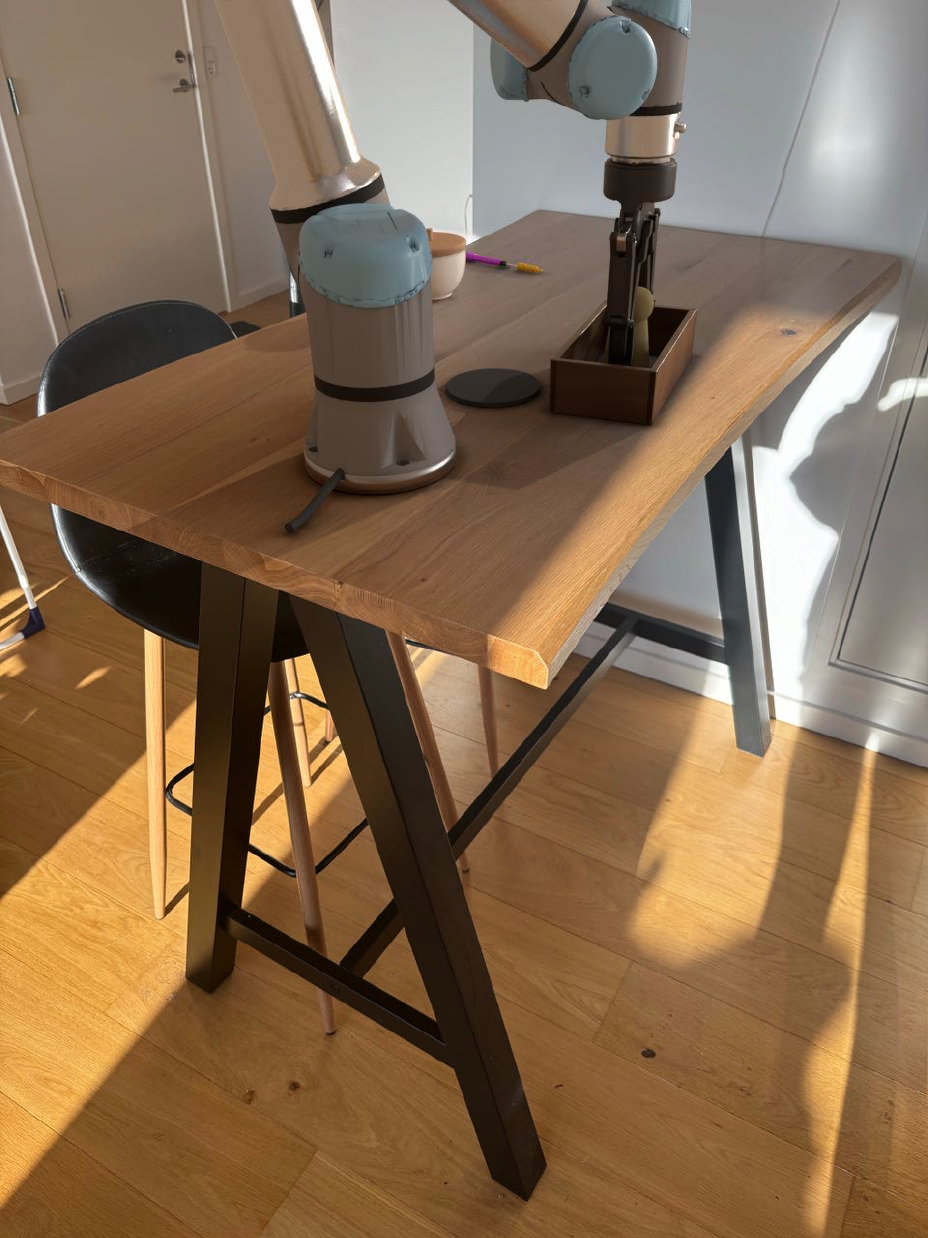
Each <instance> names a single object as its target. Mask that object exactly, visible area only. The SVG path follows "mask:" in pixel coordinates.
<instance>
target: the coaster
mask: <svg viewBox="0 0 928 1238" xmlns="http://www.w3.org/2000/svg"><path fill="white" fill-rule="evenodd" d="M540 391H541V383H540V381H539V380H538V378H537V377H536V376H534V375H532V374H530V373H527V372H524V371H521V370H516V369H511V368H502V367H501V368H499V367H490V368H478V369H472V370H467V371H464V372H460V373H458V374H456V375H454V376H453V377H451V378H450V379H448V380H447V382H446V385H445V392H446V394H447V396H448V397H449V398H450V399H451V400H453V401H455V402H457V403H460V404H462V405H466V406H471V407H477V408H506V407H508V408H509V407H513V406H514V407H515V406H519V405H521V404H525V403H527V402H530V401H532V400H533V399H535V398H536V397H537V396H538V395H539V394H540Z"/></svg>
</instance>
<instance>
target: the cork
mask: <svg viewBox="0 0 928 1238" xmlns="http://www.w3.org/2000/svg"><path fill="white" fill-rule="evenodd" d="M653 300H654V297H653V296H652V294H651V292H650V291H649V290H647V289H646V288H643V287H639V286H638V289H637V297H636V304H635V312H634V320H633V321H634V324H633V325H636V326H635V339H634V352H633V365H632V366H633V367H642V368H651V367H650V354H649V345H648V324H647V318H648V317H649V316H650V314H651V313H652V310H653V305H654V301H653ZM609 336H610V326H609V332H608V337H607V342H606V347H605V351H604V352H603V358H602V363H607V364H608V352H609Z"/></svg>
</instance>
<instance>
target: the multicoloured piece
mask: <svg viewBox="0 0 928 1238" xmlns="http://www.w3.org/2000/svg"><path fill="white" fill-rule="evenodd" d="M465 261H468V262H472V263H476V262H477V263H479V264H480V263H481V264H486V265H490V266H491V265H492V266H497V267H507V266H511V267H515V268H516V269H517V271H521V272H528V273H535V274H537V273H538V272H544V269H540V267H539V266H536V265H531V264H527V263H524V262H518V263H517V264H513V263H508V262H507V261H506V260H502V259H498V258H493V257H489V256H483V255H478V254H476V253H471V252H466V258H465Z"/></svg>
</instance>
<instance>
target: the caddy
mask: <svg viewBox="0 0 928 1238" xmlns="http://www.w3.org/2000/svg"><path fill="white" fill-rule="evenodd" d="M606 308H607V299H604V300H603V301H602V303H601V304H600V305H599V306H598V307H596V309H595V310H594V311H593V313H592V314H591V315H590V316H589V317H588V318H587V319H586V320H585V321H584V322H583V323H582V324H581V326H579V328H578V329H577V330H576V331H575V332H574V333H573V334H572V335H571V337H570V338H569V339H568V340H567V341H566V342H565V343H564V344H563V346H561V348H559V350H558V351H557V352H556V353H555V354H554V355H553V356H552V358H551V359H550V365H549V367H550V368H549V396H548V397H549V398H548V401H549V402H548V412H549V413H557V414H564V415H572V416H578V417H586V418H587V417H588V418H595V419H601V420H608V421H609V420H611V421H618V422H624V423H625V422H626V423H631V424H632V423H633V424H641V425H647V426H652V425H653V424H654V422H655V421H656V419H657V417H658V415H659V413H660V412H661V410H662V409H663V407H664V404H665V403H666V401H667V400H668V398H669V396H670V394H671V393H672V391H673V389H674V387H675V386H676V384H677V382H678V381H679V380H680V377H681V376H682V374H683V372H684V370H685V369H686V367H687V365H688V364H689V362H690V360H691V359H692V356H693V349H694V340H695V332H696V331H695V330H696V323H697V322H696V321H697V313H698V309H697V308H693V307H683V306H672V305H661V304H655V307H654V308H653V310H652V313H651V314H650V316H649V317H648V318H647V324H648V345H649V355H655V356H658V357H657V359H656V360H655V362H654V363H653V365H652V367H650V368H642V367H633V366H624V365H615V364H607V363H603V362H598V360H599V359H600V358H601V356H602V355H604V352H605V347H606V342H607V337H608V332H609V326H603V320H605V318H606Z"/></svg>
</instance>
